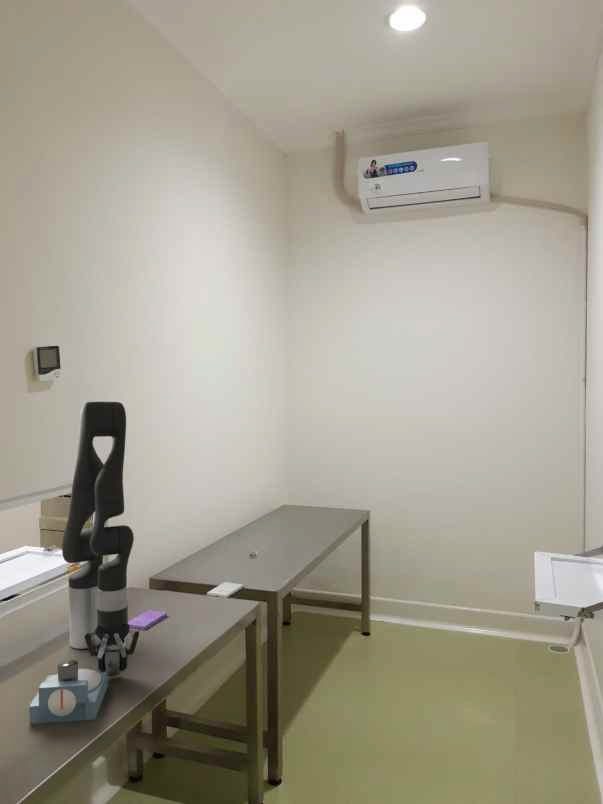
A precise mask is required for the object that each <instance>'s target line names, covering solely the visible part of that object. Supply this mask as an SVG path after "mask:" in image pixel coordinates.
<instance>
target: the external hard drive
mask: <svg viewBox="0 0 603 804" xmlns="http://www.w3.org/2000/svg"><path fill="white" fill-rule="evenodd" d="M242 587H243V588H244V584H242V583H236V582H235V583H233V582H228V581H225V582H222V583H220V584H219V585H217V586H216V587H214V588H213V589H210V590H209V591H207V592H206V596H212V597H220V598H227V599H228V598H229V597H231V596H232V595H234V594H235V593H236V592H238V591H240V590H242V589H243V588H242Z"/></svg>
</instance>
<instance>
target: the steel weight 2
mask: <svg viewBox="0 0 603 804" xmlns="http://www.w3.org/2000/svg"><path fill="white" fill-rule="evenodd" d="M121 657H122V655H121V652H120V650H119V648H118V645H108V646H106V648H105V650H104V672H107V677H116V676H119V675H121V674H122V673H123V671H121Z"/></svg>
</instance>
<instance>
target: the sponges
mask: <svg viewBox="0 0 603 804" xmlns="http://www.w3.org/2000/svg"><path fill="white" fill-rule="evenodd" d="M167 616H168V613H167V612H165V611H155V610H151V609H150V610H149V609H148V610H146V611H145V612H143V613H142V614H140V615H137V616H136V617H134V618H133V619H130V620H128V625H129V626H130V628H132V629H137V628H139V629H140V631H145V630H147V629H149V628H150V627H152V626H153V625H155V624H156V623H158V622H160V621H161V620H163V619H165V618H166V617H167Z"/></svg>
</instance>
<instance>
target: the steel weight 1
mask: <svg viewBox="0 0 603 804" xmlns="http://www.w3.org/2000/svg"><path fill="white" fill-rule="evenodd" d="M78 669H79V662H78V660H77V659H66V660H63V661H60V662H58V664H57V674H58V682H62V681H78Z"/></svg>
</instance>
